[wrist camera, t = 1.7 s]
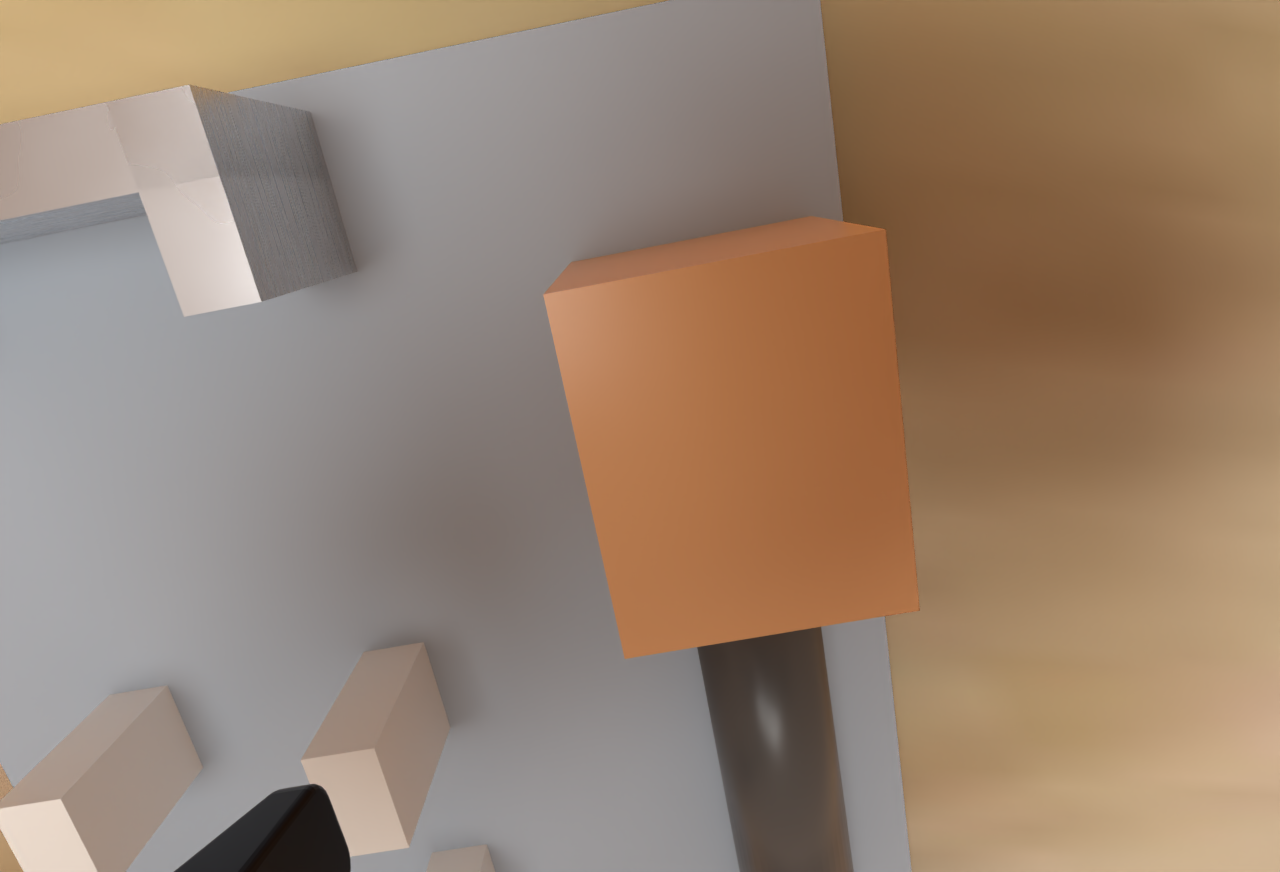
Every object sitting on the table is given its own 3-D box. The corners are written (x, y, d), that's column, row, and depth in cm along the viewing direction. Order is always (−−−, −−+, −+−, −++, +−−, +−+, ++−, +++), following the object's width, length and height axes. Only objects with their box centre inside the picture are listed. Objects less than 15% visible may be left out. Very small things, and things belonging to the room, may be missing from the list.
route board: (903, 912, 19) (920, 959, 18) (187, 1015, 20) (160, 1066, 19) (800, -12, 13) (816, -31, 12) (-219, 200, 14) (-296, 202, 13)
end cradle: (357, 271, 13) (261, 302, 10) (-94, 359, 13) (-336, 417, 10) (310, 111, 12) (188, 85, 9) (-166, 210, 13) (-451, 220, 9)
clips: (508, 915, 17) (483, 1060, 14) (229, 956, 18) (151, 1106, 15) (423, 642, 15) (374, 748, 12) (109, 694, 16) (-10, 810, 13)
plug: (892, 908, 17) (964, 1113, 13) (712, 934, 17) (733, 1144, 14) (811, 216, 13) (885, 228, 9) (570, 262, 13) (543, 294, 9)
